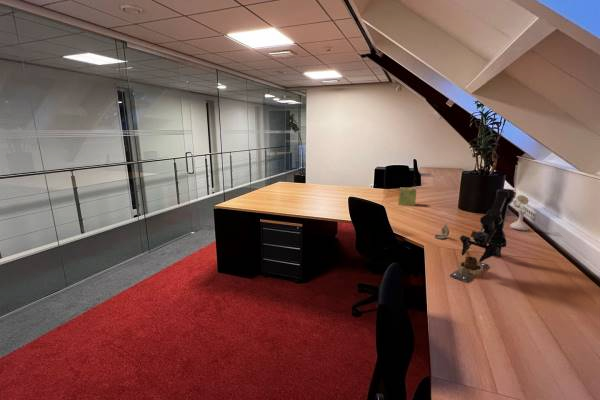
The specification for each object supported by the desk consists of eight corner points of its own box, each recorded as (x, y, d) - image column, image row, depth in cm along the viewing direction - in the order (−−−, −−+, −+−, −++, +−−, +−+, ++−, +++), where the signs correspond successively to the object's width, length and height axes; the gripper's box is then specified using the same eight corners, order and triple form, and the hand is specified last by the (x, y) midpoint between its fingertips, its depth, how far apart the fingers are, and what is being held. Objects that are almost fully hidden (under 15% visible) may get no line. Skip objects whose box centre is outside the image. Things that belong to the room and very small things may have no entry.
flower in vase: (532, 231, 212) (539, 197, 206) (516, 231, 212) (522, 197, 207) (519, 225, 225) (525, 193, 219) (504, 225, 225) (509, 193, 219)
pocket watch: (433, 237, 202) (434, 223, 200) (437, 234, 208) (438, 221, 206) (445, 240, 197) (447, 226, 194) (450, 237, 203) (451, 223, 200)
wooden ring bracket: (470, 260, 167) (470, 255, 166) (491, 267, 159) (492, 262, 158) (446, 275, 151) (447, 269, 150) (469, 283, 142) (470, 278, 142)
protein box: (415, 206, 285) (416, 190, 281) (398, 204, 290) (399, 189, 286) (415, 203, 294) (416, 188, 291) (398, 202, 300) (399, 187, 296)
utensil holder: (479, 272, 153) (481, 250, 151) (469, 274, 152) (472, 252, 149) (469, 267, 159) (472, 246, 156) (460, 269, 157) (462, 248, 154)
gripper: (463, 220, 159) (448, 244, 157) (500, 230, 143) (483, 256, 141) (470, 232, 165) (456, 254, 162) (507, 243, 149) (491, 268, 146)
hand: (470, 258), depth 153 cm, fingers open, 9 cm apart
